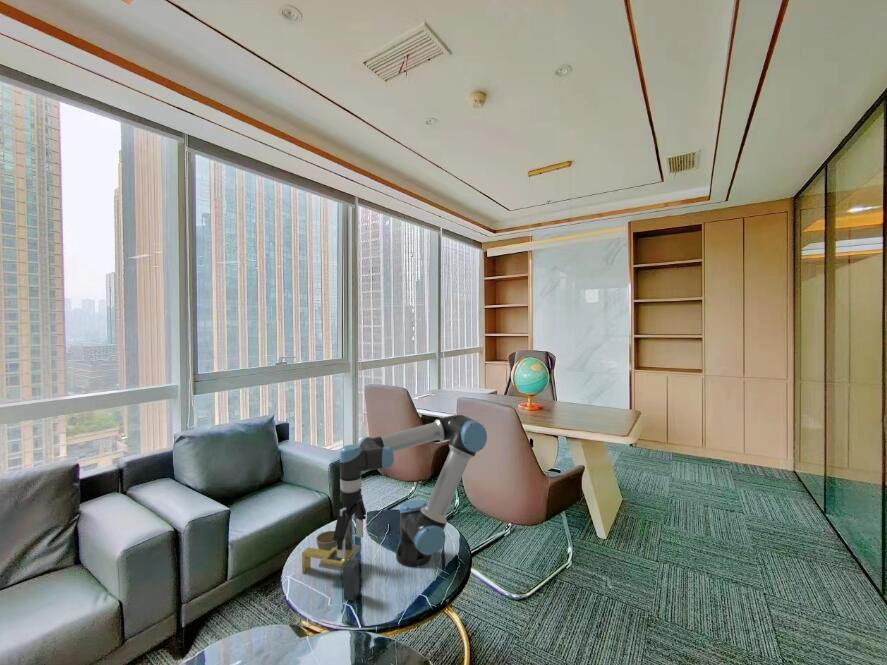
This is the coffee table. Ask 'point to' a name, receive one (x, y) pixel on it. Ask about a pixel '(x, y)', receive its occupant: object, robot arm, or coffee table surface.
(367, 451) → the robot arm
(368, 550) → the coffee table surface
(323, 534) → the flower pot
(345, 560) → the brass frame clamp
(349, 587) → the dark grey block
